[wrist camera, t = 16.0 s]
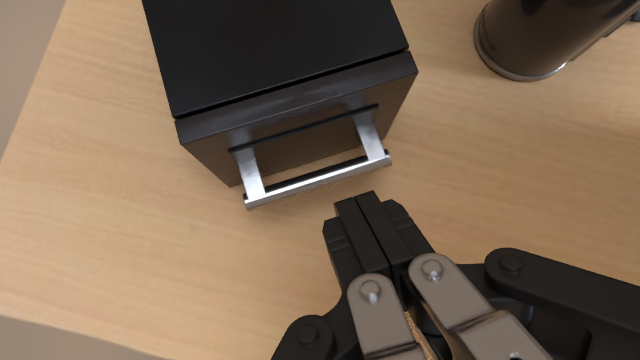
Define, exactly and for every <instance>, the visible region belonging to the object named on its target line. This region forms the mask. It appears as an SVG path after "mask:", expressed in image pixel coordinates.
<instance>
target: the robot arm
mask: <svg viewBox="0 0 640 360" xmlns="http://www.w3.org/2000/svg"><path fill="white" fill-rule="evenodd" d="M628 20H631V21H640V0H490V2H489V3H488V4H487V5H486V6H485V7H484V9H483V10H482V12H481V13H480V15H479V17H478V19H477V21H476V24H475V30H474V38H475V44H476V47H477V50H478V52H479V54H480V56H481V57H482V59H483V60H484V61H485V62H486V64H487V65H488V66H489V67H490V68H492V69H493V70H494V71H496V72H497V73H499V74H500V75H502V76H504V77H507V78H509V79H513V80H517V81H524V82H530V81H538V80H541V79H544V78H547V77H549V76H551V75H552V74H554V73H555V72H557V71H558V70H559V69H560V68H562V67H563V66H564V65H565V64H566V62H567V61H573V60H574V59H576V58H577V57H578V56H580V55H581V54H582V53H583V52H585V51H586V50H587V49H588V48H590V47H591V46H592V45H594V44H595V43H596V42H597V41H599V40H600V39H601V38H604V37H607V36H609V35H610V34H611V33H613V32H614V31H615V30H616V29H618V28H619V27H620V26H622V25H623V24H624V23H625V22H627V21H628ZM334 208H335V212H336V216H337V217H334V218H331V219H328V220H325V221H324V226H323V231H322V232H323V236H324V239H325V243H326V246H327V250H328V253H329V257H330V260H331V263H332V266H333V269H334V271H335V274H336V277H337V280H338V282H339V285H340V288H341V291H342V295H341V298H340V300H339V302H338V303H337V305H336V306H335V307H334V308H333V309H332V310H330V311H329V312H328V313H326V314H325V315H323V316H319V315H306V316H302V317H300V318H298V319H297V320H295V321H294V322H293V323H292V324H291V325H290V326H289V327H288V329H287V330H286V332H285V334H284V336H283V338H282V340H281V341H280V343H279V345H278V347H277V349H276V351H275V352H274V354H273V356H272V358H271V360H427V357H426V355H425V353H424V350H423V348H422V346H421V345H420V343H417V342H416V340H415V338H414V335H413V333H412V330H411V328H410V325H409V323H408V320H407V318H406V315H405V313H404V312H407V311H408V312H409V314H410V316H411V318H412V320H413V322H414V324H415V326H416V331H417V333H418V335H419V336H420V338H421V339H422V341H423V343H424V344H425V346H426V348H427V349H428V351H429V352H430V354H431V356H432V357H433V359H434V360H640V286H637V285H634V284H630V283H627V282H624V281H620V280H617V279H614V278H611V277H607V276H604V275H601V274H598V273H594V272H591V271H588V270H584V269H581V268H578V267H575V266H571V265H568V264H565V263H562V262H558V261H555V260H552V259H548V258H545V257H542V256H539V255H535V254H532V253H529V252H526V251H522V250H519V249H515V248H499V249H496V250H493V251H492V252H490V253H489V254H488V255H487V256H486V258H485V263H481V264H455V263H454V262H453V261H452V260H451V259H449V258H448V257H446V256H444V255H441V254H437V253H436V252H435V251H434V250H433V248H432V247H431V245H430V244H429V243H428V241H427V240H426V238H425V237H424V236H423V234H422V233H421V231H420V230H419V228H418V227H417V226H416V225H415V223H414V221H413V220H412V218H411V217H410V216H409V214H408V213H407V211H406V210H405V208H404V207H403V206H402V205H401V204H399V203H397V202H395V201H394V200H392V199H390V200H387V201H384V202H381V201H380V200H379V198H378V197H377V195H376V194H375V192H374V191H373V190H372V191H369V192H366V193H363V194H360V195H357V196H354V198H353V197H350V198H347V199H344V200H341V201H338V202H335V203H334Z"/></svg>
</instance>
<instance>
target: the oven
mask: <svg viewBox="0 0 640 360" xmlns="http://www.w3.org/2000/svg"><path fill="white" fill-rule="evenodd" d="M142 4H143V7H144V11H145V15H146V19H147V23H148V26H149V30H150V34H151V38H152V42H153V45H154V49H155V53H156V57H157V61H158V64H159V68H160V72H161V76H162V80H163V83H164V87H165V91H166V95H167V99H168V102H169V106H170V110H171V114H172V117H173V118H174V119H175V120H179V119H182V118H185V117H189V116H192V115H195V114H199V113H202V112H205V111H209V110H212V109H215V108H219V107H222V106H226V105H229V104H232V103H236V102H239V101H242V100H246V99H249V98H252V97H256V96H259V95H262V94H266V93H269V92H272V91H276V90H279V89H282V88H286V87H289V86H292V85H296V84H299V83H302V82H306V81H309V80H313V79H316V78H319V77H323V76H326V75H329V74H333V73H336V72H339V71H343V70H346V69H349V68H353V67H356V66H359V65H363V64H366V63H369V62H373V61H376V60H379V59H383V58H386V57H389V56H393V55H396V54H400V53H403V52H406V51H408V48H409V45H408V42H407V40H406V37H405V35H404V33H403V30H402V28H401V25H400V23H399V20H398V18H397V16H396V13H395V11H394V8H393V6H392V3H391V1H390V0H142Z"/></svg>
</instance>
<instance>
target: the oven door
mask: <svg viewBox="0 0 640 360" xmlns="http://www.w3.org/2000/svg"><path fill="white" fill-rule="evenodd" d="M417 75H418V69H417V67H416V64H415V62H414V60H413V57H412V55H411V52H410V51H406V52H403V53H400V54H396V55H393V56H389V57H386V58H383V59H379V60H376V61H373V62H369V63H366V64H363V65H359V66H356V67H353V68H349V69H346V70H343V71H339V72H336V73H333V74H329V75H326V76H323V77H319V78H316V79H313V80H309V81H306V82H302V83H299V84H296V85H292V86H289V87H286V88H282V89H279V90H276V91H272V92H269V93H266V94H262V95H259V96H256V97H252V98H249V99H246V100H242V101H239V102H236V103H232V104H229V105H226V106H222V107H219V108H215V109H212V110H209V111H205V112H202V113H199V114H195V115H192V116H189V117H185V118H182V119H179V120H175V122H174V123H175V126H176V130H177V134H178V138H179V142H180V145H182V146H183V147H184V148H185V149H186V150H187V151H188V152H190V153H191V154H192V155H193V156H194V157H195V158H196V159H198V160H199V161H200V162H201V163H202V164H203V165H204V166H206V167H207V168H208V169H209V170H210V171H211V172H212V173H214V174H215V175H216V176H217V177H218V178H219V179H220V180H222V181H223V182H224V183H225V184H226V185H227V186H228V187H232V186H235V185H238V184H241V183H243V185H244V188H245V191H246V193H244V194H243V199H244V203H245V206H246V208H247V210H248V211H252V210H255V209H258V208H262V207H265V206H268V205H271V204H274V203H277V202H280V201H283V200H287V199H290V198H293V197H296V196H299V195H302V194H305V193H308V192H312V191H315V190H318V189H321V188H324V187H327V186H330V185H333V184H336V183H340V182H343V181H346V180H349V179H352V178H355V177H358V176H361V175H365V174H368V173H371V172H374V171H377V170H380V169H383V168H386V167H390V166H391V165H392V160H391V156H390V153H389V152H388V150H387V149H383V146H382V143H381V141H380V140H381V139H384V138H385V136H386V134H387V133H388V131H389V129H390V127H391V125H392V123H393V121H394V119H395V117H396V115H397V113H398V111H399V109H400V107H401V105H402V104H403V102H404V100H405V98H406V96H407V94H408V92H409V90H410V88H411V86H412V84H413V82H414V80H415V78H416V76H417ZM359 146H360V149H361V151H362V154H363V156H361V157H358V158H355V159H351V160H348V161H345V162H342V163H339V164H336V165H332V166H329V167H326V168H323V169H320V170H317V171H313V172H310V173H307V174H304V175H301V176H298V177H294V178H291V179H288V180H285V181H282V182H279V183H276V184H272V185H269V186H266V187H265V184H264V181H263V177H264V176H267V175H270V174H273V173H276V172H280V171H283V170H286V169H289V168H292V167H295V166H299V165H302V164H305V163H308V162H311V161H315V160H318V159H321V158H324V157H327V156H330V155H334V154H337V153H340V152H343V151H346V150H350V149H353V148H356V147H359Z"/></svg>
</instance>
